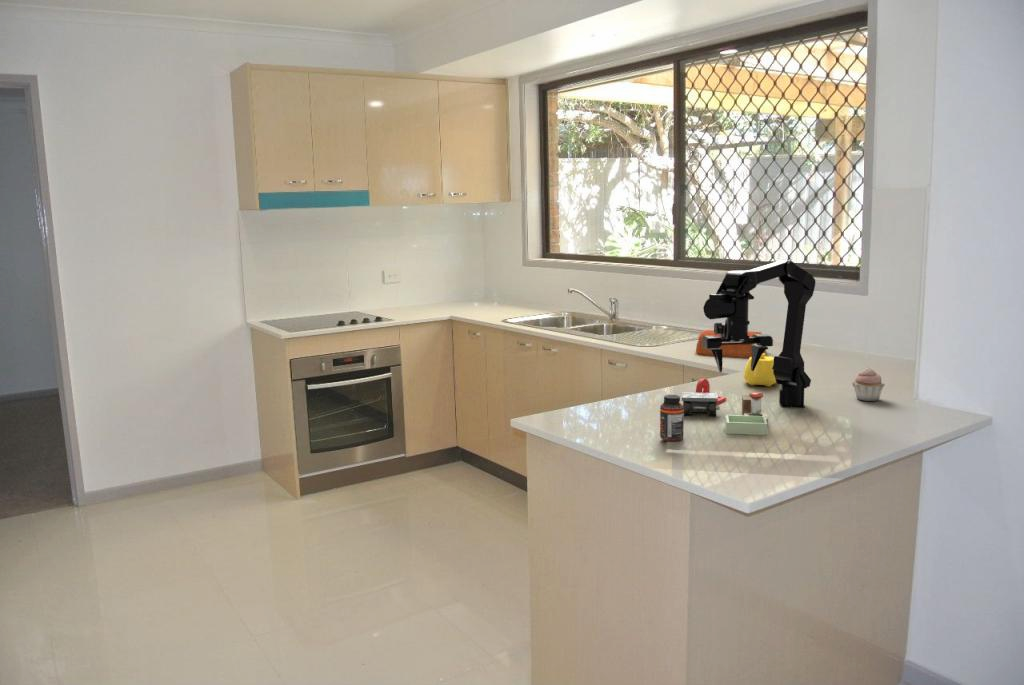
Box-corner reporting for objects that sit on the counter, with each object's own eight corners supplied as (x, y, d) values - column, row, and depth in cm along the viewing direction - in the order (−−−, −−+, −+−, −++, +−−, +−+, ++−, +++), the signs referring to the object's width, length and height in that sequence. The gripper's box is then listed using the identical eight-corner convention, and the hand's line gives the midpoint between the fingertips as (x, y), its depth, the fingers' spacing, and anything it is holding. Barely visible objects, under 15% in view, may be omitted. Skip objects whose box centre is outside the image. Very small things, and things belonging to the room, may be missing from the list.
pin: (761, 421, 224) (762, 392, 222) (762, 424, 220) (763, 395, 219) (748, 421, 224) (749, 391, 223) (749, 424, 221) (749, 394, 220)
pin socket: (766, 420, 224) (766, 413, 224) (767, 426, 219) (768, 418, 218) (743, 419, 226) (743, 412, 225) (744, 425, 220) (744, 418, 220)
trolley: (718, 411, 236) (719, 393, 236) (719, 417, 229) (719, 399, 228) (680, 410, 239) (680, 392, 238) (679, 416, 231) (679, 397, 231)
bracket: (709, 408, 241) (709, 382, 239) (695, 406, 243) (695, 380, 242) (727, 400, 250) (727, 375, 248) (713, 399, 253) (713, 374, 251)
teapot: (776, 392, 259) (776, 359, 258) (740, 390, 263) (741, 357, 262) (780, 381, 276) (780, 350, 274) (746, 379, 280) (747, 349, 278)
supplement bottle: (657, 436, 212) (657, 393, 210) (679, 435, 212) (679, 392, 210) (663, 442, 206) (663, 399, 204) (686, 441, 206) (686, 398, 204)
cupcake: (870, 394, 253) (871, 363, 251) (891, 401, 244) (892, 368, 242) (844, 396, 250) (845, 365, 249) (864, 403, 242) (865, 370, 240)
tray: (764, 426, 218) (764, 416, 218) (767, 434, 210) (767, 423, 210) (725, 425, 220) (725, 414, 220) (726, 433, 212) (726, 422, 212)
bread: (762, 362, 311) (763, 335, 309) (693, 359, 322) (693, 332, 320) (768, 356, 324) (769, 330, 323) (701, 352, 336) (702, 327, 334)
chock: (756, 412, 235) (756, 395, 234) (757, 417, 229) (757, 400, 228) (741, 411, 235) (742, 395, 235) (742, 416, 230) (743, 399, 229)
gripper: (759, 312, 234) (758, 365, 236) (696, 314, 233) (695, 367, 235) (774, 316, 223) (773, 372, 225) (708, 318, 222) (707, 374, 224)
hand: (736, 371), depth 228 cm, fingers open, 9 cm apart
